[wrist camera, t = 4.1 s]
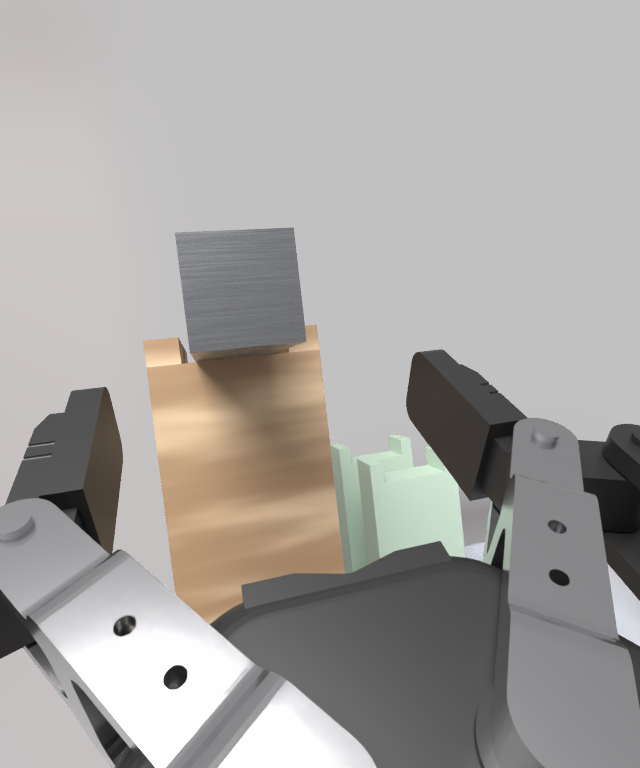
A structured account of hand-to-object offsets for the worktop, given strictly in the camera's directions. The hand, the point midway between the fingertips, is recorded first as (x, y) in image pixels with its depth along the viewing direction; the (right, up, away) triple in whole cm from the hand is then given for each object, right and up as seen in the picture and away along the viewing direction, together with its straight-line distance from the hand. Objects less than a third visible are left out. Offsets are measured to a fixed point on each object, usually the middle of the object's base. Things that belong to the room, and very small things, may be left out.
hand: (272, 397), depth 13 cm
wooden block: (0, -30, +17) cm, 34 cm away
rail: (-3, +2, +12) cm, 13 cm away
